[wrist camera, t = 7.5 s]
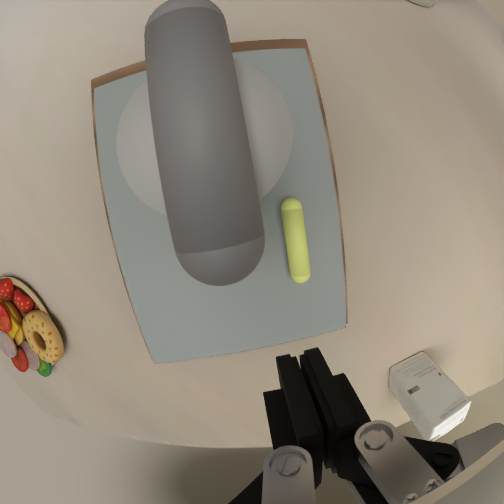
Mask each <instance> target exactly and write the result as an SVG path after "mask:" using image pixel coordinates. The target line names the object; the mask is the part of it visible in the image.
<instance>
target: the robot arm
mask: <svg viewBox="0 0 504 504" xmlns="http://www.w3.org/2000/svg"><path fill="white" fill-rule="evenodd" d="M409 1H411V2H413V3H415V4H418V5H421V6H425V7H430V6H433V5H434V4H436V3H437V1H438V0H409ZM276 362H277V368H278V374H279V381H280V387H281V389H278V390H273V391H267V392H263V395H264V401H265V406H266V412H267V417H268V423H269V428H270V434H271V439H272V444H273V451H272V452H271V453H269V454H268V456H267V457H266V459H265V462H264V469H263V472H262V473H261V474H260V475H259V476H258V477H257V478H256V479H255V480H254V481H253V482H252V483H251V484H250V485H248V487H246V488H245V489H244V490H243V491H242V492H241V493H240V494H239V495H238V496H237V497H235V498H234V499H233V500H232V501H231V502H230V503H229V504H316V500H315V490H316V488H317V487H318V486H319V484H320V483H321V478H322V462H324V465H325V467H326V469H328V468H331V470H332V473H333V474H334V473H337V474H338V477H340V478H343V479H346V480H347V483H348V485H349V486H350V488H351V489H352V491H353V493H354V494H355V496H356V497H357V499H358V501H359V502H360V503H361V504H504V425H503V424H501V423H494V424H491V425H489V426H486V427H485V428H482V429H480V430H478V431H476V432H474V433H472V434H469V435H467V436H464V437H462V438H460V439H457V440H455V441H454V443H451V444H446V443H440V442H433V441H427V440H421V439H416V438H410V437H405V436H403V435H402V434H401V433H400V432H399V431H398V430H397V428H396V427H395V426H393V425H392V424H391V423H389V422H386V421H382V420H375V421H371V420H370V418H369V416H368V414H367V412H366V411H365V409H364V407H363V405H362V403H361V402H360V400H359V398H358V396H357V394H356V393H355V391H354V389H353V387H352V386H351V384H350V382H349V380H348V379H347V377H346V375H345V374H344V373H341V374H338V375H335V376H333V375H332V373H331V371H330V369H329V367H328V365H327V363H326V361H325V359H324V357H323V356H322V354H321V352H320V350H319V348H318V347H317V348H313V349H309V350H305V351H304V354H303V355H300V366H299V363H298V361H297V358H296V356H295V357H291V356H290V354H287V355H282V356H278V357H276ZM300 367H301V369H300Z"/></svg>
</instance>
